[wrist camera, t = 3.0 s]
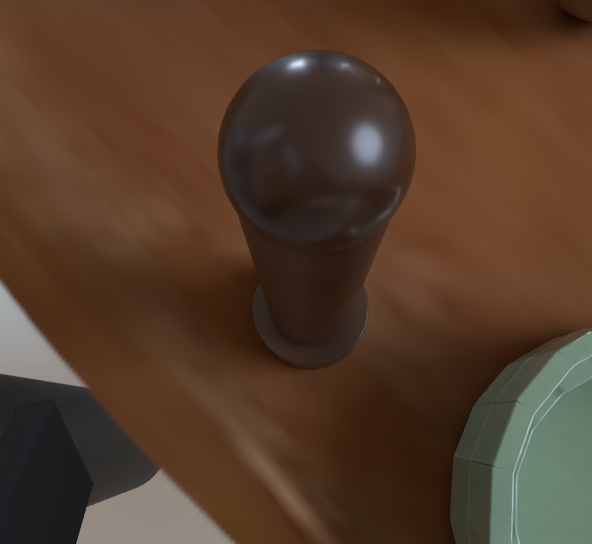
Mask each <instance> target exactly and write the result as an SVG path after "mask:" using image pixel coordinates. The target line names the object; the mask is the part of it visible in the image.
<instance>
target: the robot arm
mask: <svg viewBox="0 0 592 544" xmlns="http://www.w3.org/2000/svg"><path fill="white" fill-rule="evenodd" d="M92 486H93V482H92V480H91V478H90V476H89V474H88V471H87V469H86V467H85V465H84V463H83V461H82V459H81V457H80V455H79V453H78V451H77V448H76V446H75V444H74V442H73V440H72V438H71V436H70V434H69V432H68V430H67V428H66V426H65V423H64V421H63V419H62V417H61V415H60V413H59V411H58V409H57V407H56V405H55V403H54V401H53V399H52V400H46V401H40V402H35V403H29V404H23V405H18V406H17V408H16V410H15V412H14V414H13V416H12V418H11V420H10V422H9V424H8V426H7V427H6V429H5V431H4V433H3V435H2V437H1V439H0V544H76V542H77V539H78V535H79V532H80V528H81V525H82V521H83V518H84V514H85V511H86V507H87V504H88V500H89V497H90V493H91V490H92Z"/></svg>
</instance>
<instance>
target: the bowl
mask: <svg viewBox="0 0 592 544" xmlns="http://www.w3.org/2000/svg"><path fill="white" fill-rule="evenodd" d="M450 521H451V526H452V530H453V534H454V538H455V543H456V544H592V326H590V327H587V328H585V329H582V330H579V331H576V332H573V333H570V334H567V335H564V336H561V337H558V338H555V339H552V340H550V341H548V342H547V343H545V344H543V345H541V346H539V347H538V348H536V349H534V350H532V351H531V352H529V353H527V354H525V355H524V356H522V357H520V358H518V359H517V360H515V361H513V362H511V363H510V364H509V365H507V366H506V367H505V369H504V370H503V371H502V372H501V373H500V374H499V376H498V377H497V378H496V379H495V380H494V381H493V383H492V384H491V385H490V386H489V387H488V389H487V390H486V391H485V392H484V393H483V394H482V396H481V397H480V398H479V399H478V400H477V401H476V403H475V404H474V406H473V408H472V410H471V413H470V416H469V418H468V421H467V423H466V426H465V429H464V431H463V434H462V436H461V439H460V442H459V444H458V447H457V449H456V452H455V455H454V458H453V472H452V490H451V509H450Z"/></svg>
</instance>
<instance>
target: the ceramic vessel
mask: <svg viewBox="0 0 592 544" xmlns="http://www.w3.org/2000/svg"><path fill="white" fill-rule="evenodd" d="M556 1H557V3H558V4H559V5H560V6H561V7H562V8H563V9H564V10H565V11H566V12H568V13H569V14H571V15H572V16H574V17H576V18H579V19H581V20H585V21H590V22H592V0H556Z"/></svg>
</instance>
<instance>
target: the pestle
mask: <svg viewBox="0 0 592 544" xmlns="http://www.w3.org/2000/svg"><path fill="white" fill-rule="evenodd" d="M217 156H218V167H219V172H220V176H221V181H222V184H223V187H224V190H225V192H226V195H227V197H228V199H229V200H230V202H231V204H232V206H233V208H234V209H235V211H236V212H237V214H238V217H239V220H240V223H241V226H242V229H243V232H244V235H245V238H246V241H247V244H248V247H249V250H250V253H251V256H252V260H253V263H254V266H255V269H256V272H257V275H258V278H259V283H258V285H257V287H256V290H255V293H254V297H253V305H252V312H253V319H254V324H255V326H256V329H257V332H258V333H259V335H260V337H261V339H262V341H263V343H264V345H265V346H266V347H267V349H268V350H269V351H270V352H271V353H272V354H273V355H274V356H275V357H276V358H277V359H279V360H280V361H282V362H284V363H285V364H288V365H290V366H292V367H296V368H300V369H321V368H325V367H328V366H331V365H333V364H335V363H337V362H339V361H340V360H342V359H343V358H344V357H346V356H347V355H348V354H349V353H350V352H351V351H352V349H353V348H354V347H355V345H356V344H357V342H358V341H359V339H360V337H361V336H362V334H363V332H364V329H365V327H366V323H367V319H368V312H369V309H368V298H367V294H366V290H365V288H364V285H363V284H364V281H365V279H366V277H367V274H368V272H369V269H370V267H371V265H372V262H373V260H374V257H375V255H376V253H377V250H378V248H379V245H380V243H381V240H382V238H383V236H384V233H385V231H386V228H387V226H388V224H389V221H390V219H391V217H392V216H393V215H394V214H395V213H396V211H397V210H398V208H399V206H400V205H401V203H402V201H403V200H404V198H405V196H406V194H407V191H408V189H409V187H410V184H411V180H412V176H413V172H414V168H415V159H416V142H415V134H414V129H413V124H412V121H411V118H410V115H409V112H408V109H407V107H406V105H405V103H404V101H403V100H402V98H401V96H400V95H399V93H398V92H397V90H396V89H395V88H394V86H393V85H392V84H391V83H390V82H389V81H388V79H387V78H386V77H385V76H383V75H382V74H381V73H380V72H379V71H377V70H376V69H375V68H373V67H372V66H370V65H369V64H367V63H366V62H364V61H362V60H360V59H358V58H356V57H353V56H351V55H348V54H345V53H341V52H336V51H330V50H305V51H299V52H294V53H290V54H287V55H284V56H281V57H279V58H277V59H275V60H273V61H271V62H269V63H268V64H266V65H265V66H263V67H261V68H260V69H259V70H257V71H256V72H255V73H254V74H252V75H251V76H250V77H249V78H248V79H247V80H246V81H245V82H244V83H243V84H242V86H241V87H240V88H239V90H238V91H237V93H236V94H235V95H234V97H233V98H232V100H231V102H230V104H229V105H228V107H227V110H226V112H225V115H224V118H223V121H222V123H221V127H220V132H219V138H218V152H217Z"/></svg>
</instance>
